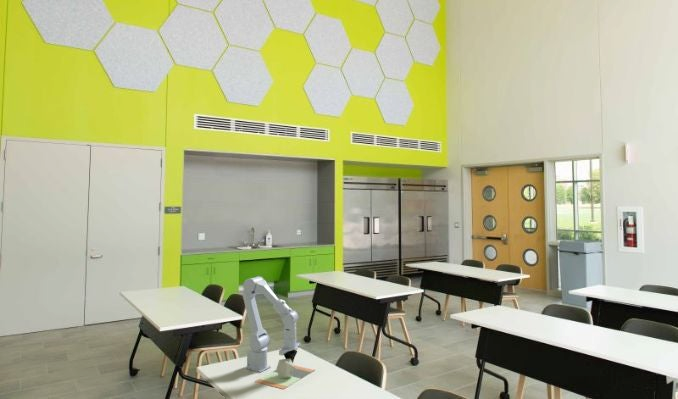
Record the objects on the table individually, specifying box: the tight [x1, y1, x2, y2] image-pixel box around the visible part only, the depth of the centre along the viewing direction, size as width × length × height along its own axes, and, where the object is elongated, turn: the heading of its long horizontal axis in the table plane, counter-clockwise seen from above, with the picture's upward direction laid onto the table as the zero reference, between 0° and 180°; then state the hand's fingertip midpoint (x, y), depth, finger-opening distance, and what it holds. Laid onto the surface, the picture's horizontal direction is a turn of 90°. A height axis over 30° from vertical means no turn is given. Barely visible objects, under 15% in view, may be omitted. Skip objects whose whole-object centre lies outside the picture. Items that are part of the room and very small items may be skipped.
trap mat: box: [254, 364, 315, 390], centre depth 192 cm, size 16×25×1 cm, turn 151°
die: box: [275, 358, 296, 379], centre depth 190 cm, size 8×9×10 cm
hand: (289, 366), depth 194 cm, fingers closed
